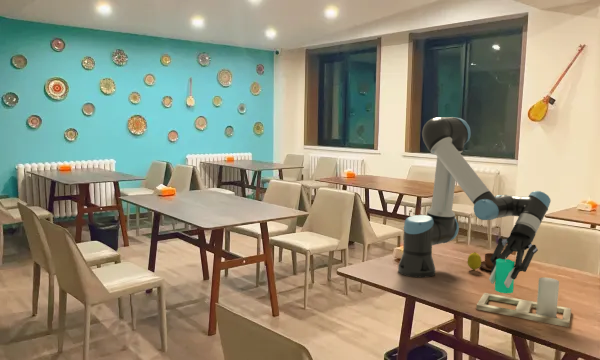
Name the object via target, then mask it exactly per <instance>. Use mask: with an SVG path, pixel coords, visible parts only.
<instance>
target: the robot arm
mask: <svg viewBox="0 0 600 360" xmlns="http://www.w3.org/2000/svg"><path fill="white" fill-rule="evenodd" d="M421 134H422V135H421V136H422V141H423V143H424V144H425V146H426V148H427V151H429V152H430V153H431V154H432V155H435V156H436V164H435V174H434V181H433V182H434V183H433V191H432V199H431V207H430V208H429V209H428V210H426V211H427V212H426V215H425V214H418V215H417V214H415V215H410V216H409V217H406V219H405V221H404V224H403V225H404V226H403V243H402V244H403V248H402V255H401V258H400V260H399V262H398V263H399V264H398V266H397V269H398V273H400V275H403V276H406V277H412V278H430V277H431V278H432V277H433V276H435V275H436V266H435V262H434V260H433V259H434V258H433V256H432V255H433V246H435V245H440V244H441V245H442V244H446V243H449V242H451V241H453V240H454V239H456V237H457V235H458V233H459V231H460V229H459V228H460V226H459V222H457V221H458V220H457V218H456V213H455V211H453V206H454V205H453V203H454V197H455V196H454V195H455V187H456V183H457V185H459V187H460V188H461V190H462V191H463V192H464V193H465V194H466V197H468V199H469V200H470V201H471V203H472V204H473V213H474V215H475V217H476V218H477V219H479V220H482V221H493V220H494V219H499V218H501V219H502V218H505V217H517V219H516V222H515V223H514V224H515V225H513V228H512V230H511V232H510V234H509V236H508V237H506V238H504V239H503V238H501V237H499V238H498V243H497V245H496V247H495V249H494V251H493V252H492V253H493V255H492V257H491V259H490V260H491V262H492V264H493V267H492V269H491V271H490V272H491V274H490V276H489V278H488V280H489V282H490V283H491V284H492V285H495V275H496V260H497V259H499V258H500V259H505V257H506V259H508V257H509V256H510V255H512V254H513V253H514V252H516V255H515V266H514V267H515V268H513V269H512V271H510V272H509V274H508V276H507V278H506V280H505V282H504V284H505V286H506V287H507V288H509V287H510V284H511V282H512V280H513V279H514V280H516V279H517V278H518V275H519V274H520V272H524V273H526V272H527V270H528V269H529V266H530V264H531V261H532V259H533V257H534V255H535V254H536V253H537V252H538V250H539V249H538V247H537V245H536V244H532V243H533V241H534V239H535V238H536V234H537V233H538V230H539V229H540V226H541V223H542V222H543V220H544V217H545V216H546V213H547V212H548V210H549V208H550V204H551V201H552V200H551V198H550V196H549V195H548V194H546V193H545V192H543V191H541V190H533V191H531V192H530V194H528V196H517V195H516V196H515V195H508V194H498V195H495V196H494V194H493V193H492V192H491V190H490V189H489V188H488V187H487V185H486V184H485V182H484V181H483V180H482V179H481V178H480V177H479V175H478V174H477V173H476V171H475V170H474V168H473V167H472V166H471V165H470V163H468V161H467V160H466V159H465V158H464V156H463V154H461V153H463V152H464V146H465V145H466V144H467V143H468V142H469V141H470V138H471V134H472V132H471V128H470V125H469V124H468V122H467V121H466V120H464V119H463V118H461V117H453V116H451V117H448V116H447V117H445V116H444V117H443V116H442V117H440V116H439V117H432V118H430V119H429V120H428V121H426V123H424V125H423V128H422V131H421ZM506 244H507V245H506ZM526 250H527V252H526V254H525V251H526ZM523 257H524V258H523Z"/></svg>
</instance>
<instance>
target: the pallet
mask: <svg viewBox="0 0 600 360" xmlns="http://www.w3.org/2000/svg"><path fill="white" fill-rule="evenodd" d="M489 300H490V301H494V302H495V301H496V302H502V303H506V304H513V305H516V307H515V309H510V308H506V307H500V306H496V305H489V304H487V303H489ZM532 308H534V309H537V301H532V300H526V299H520V298H516V297H510V296H504V295H499V294H493V293H488V292H483V294H482V296H481V297H480V299H479V301H478V302H477V303H476V306H475V309H476V310H479V311H484V312H490V313H494V314H500V315H504V316H509V317H515V318H520V319H525V320H530V321H535V322H539V323H543V324H544V323H545V324H549V325H554V326H555V325H556V326H561V327H564V328H565V327H566V328H569V327H570V321H571V315H572V308H570V307H566V306H559V305H557V313H560V314H562V318H558V317H556V318H553V317H548V316H543V315H537V314H536V313H532V312H531V310H532Z"/></svg>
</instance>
